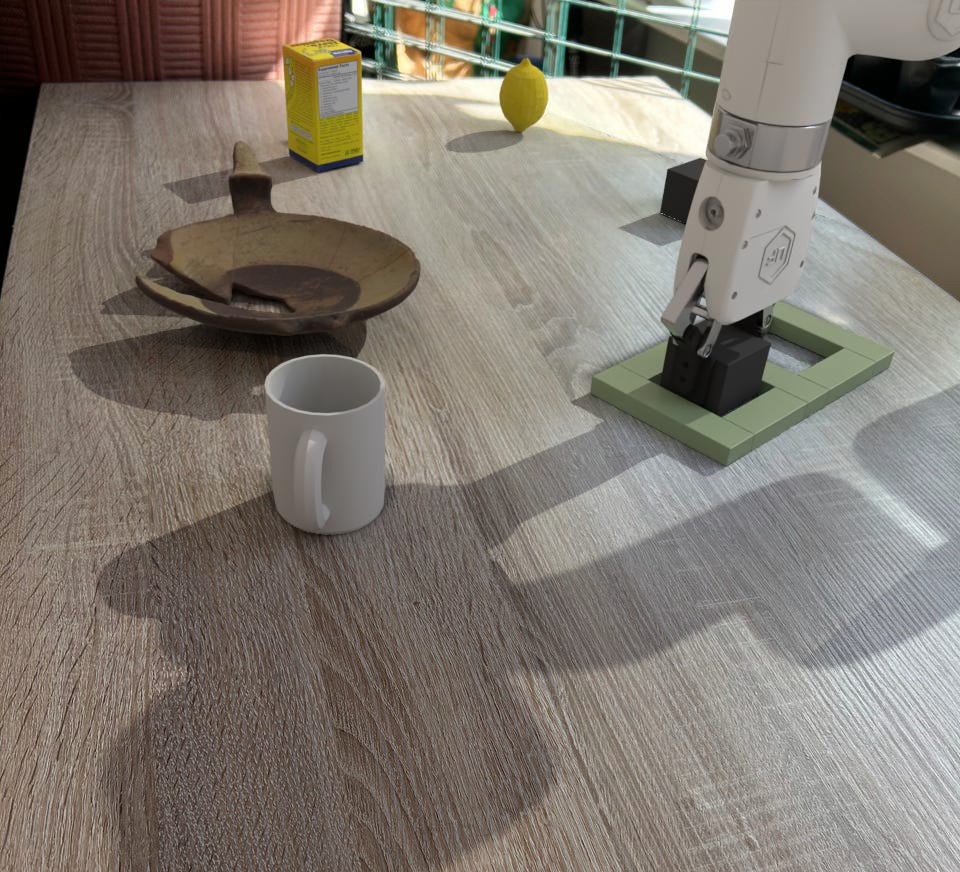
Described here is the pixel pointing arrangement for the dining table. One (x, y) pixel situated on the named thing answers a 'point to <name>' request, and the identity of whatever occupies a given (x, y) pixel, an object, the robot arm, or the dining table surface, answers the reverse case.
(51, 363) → the dining table surface
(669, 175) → the black square block
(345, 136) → the supplement box
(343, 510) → the cup
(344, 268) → the broken clay pan
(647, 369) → the base board
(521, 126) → the fruit
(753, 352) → the black block
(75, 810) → the dining table surface
